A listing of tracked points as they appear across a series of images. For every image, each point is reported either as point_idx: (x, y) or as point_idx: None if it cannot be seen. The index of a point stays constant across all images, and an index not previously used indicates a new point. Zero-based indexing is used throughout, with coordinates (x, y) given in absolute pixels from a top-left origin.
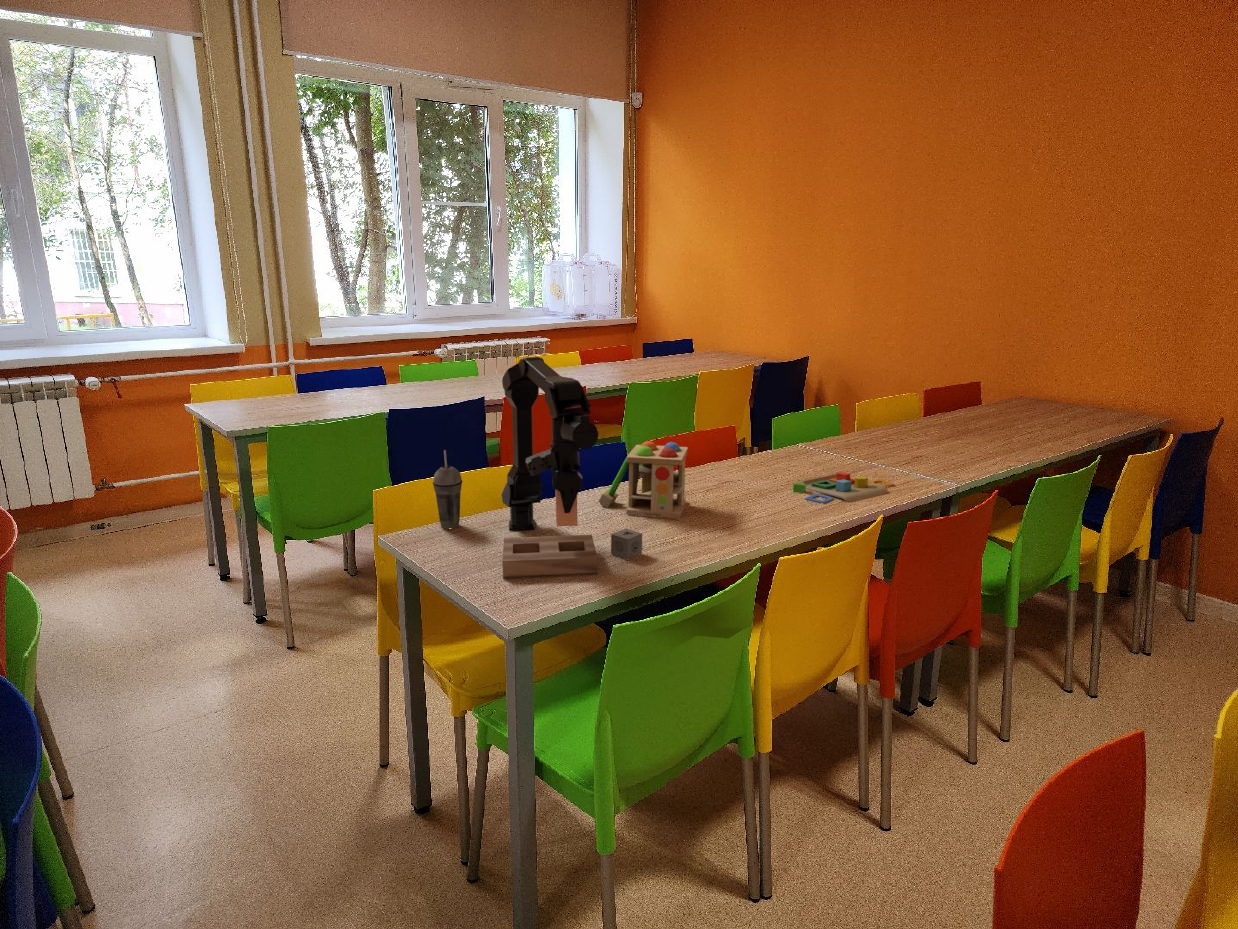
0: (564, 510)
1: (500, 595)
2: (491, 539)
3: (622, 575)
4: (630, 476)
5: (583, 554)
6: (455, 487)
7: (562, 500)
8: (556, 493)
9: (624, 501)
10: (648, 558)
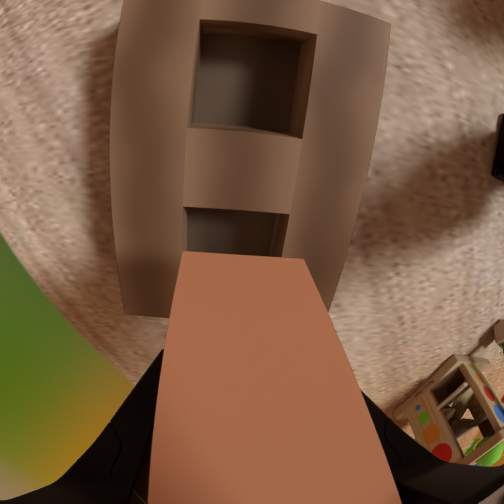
0: (154, 361)
1: (39, 23)
2: (470, 47)
3: (133, 328)
4: (487, 408)
5: (147, 282)
6: None
7: (111, 422)
8: (151, 454)
9: (492, 347)
10: None
